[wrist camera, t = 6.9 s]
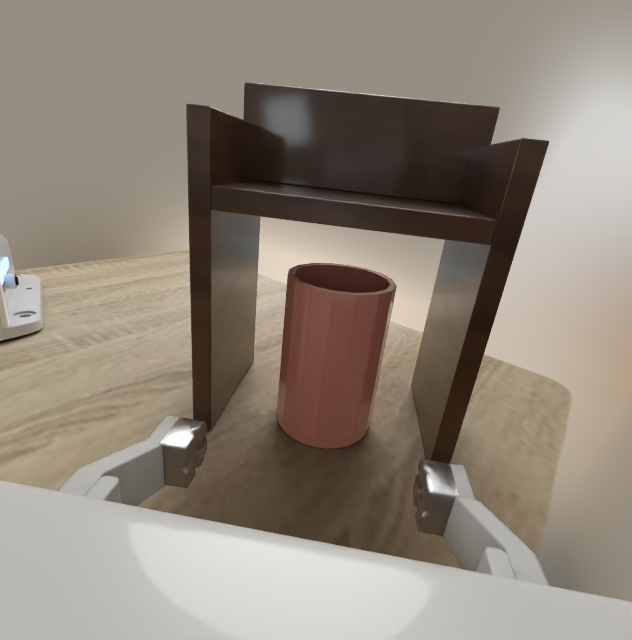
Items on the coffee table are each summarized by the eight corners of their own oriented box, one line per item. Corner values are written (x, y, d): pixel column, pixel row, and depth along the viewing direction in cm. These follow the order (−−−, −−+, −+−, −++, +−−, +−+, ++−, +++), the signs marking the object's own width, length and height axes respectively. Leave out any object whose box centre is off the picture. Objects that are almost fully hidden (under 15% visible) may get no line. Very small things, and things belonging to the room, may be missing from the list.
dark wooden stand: (447, 472, 23) (570, 73, 15) (193, 428, 25) (183, 38, 17) (425, 387, 33) (494, 109, 25) (240, 358, 34) (249, 85, 26)
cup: (266, 397, 29) (274, 262, 25) (343, 386, 31) (362, 263, 27) (295, 458, 23) (312, 296, 19) (386, 438, 26) (418, 292, 22)
